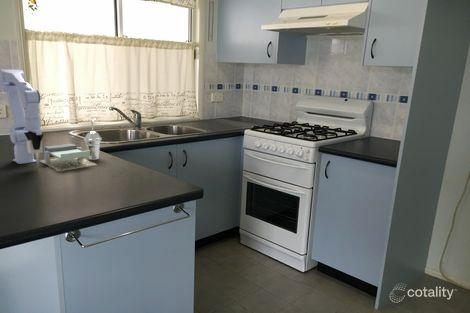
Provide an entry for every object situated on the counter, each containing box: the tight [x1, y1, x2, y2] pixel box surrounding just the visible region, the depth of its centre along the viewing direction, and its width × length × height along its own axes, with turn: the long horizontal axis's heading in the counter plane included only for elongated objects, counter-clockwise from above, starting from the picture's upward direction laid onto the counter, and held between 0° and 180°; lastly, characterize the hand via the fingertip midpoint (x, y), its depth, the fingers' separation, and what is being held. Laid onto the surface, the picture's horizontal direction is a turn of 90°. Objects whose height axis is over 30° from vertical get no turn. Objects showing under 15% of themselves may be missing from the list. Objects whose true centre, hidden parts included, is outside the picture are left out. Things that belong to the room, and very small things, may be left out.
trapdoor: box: [44, 143, 90, 160], centre depth 180 cm, size 21×13×4 cm, turn 45°
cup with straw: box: [83, 117, 103, 161], centre depth 190 cm, size 8×9×20 cm
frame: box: [39, 146, 97, 172], centre depth 181 cm, size 22×18×6 cm
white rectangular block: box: [27, 140, 44, 155], centre depth 170 cm, size 4×5×6 cm
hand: (35, 148), depth 170 cm, fingers closed on white rectangular block, 4 cm apart
